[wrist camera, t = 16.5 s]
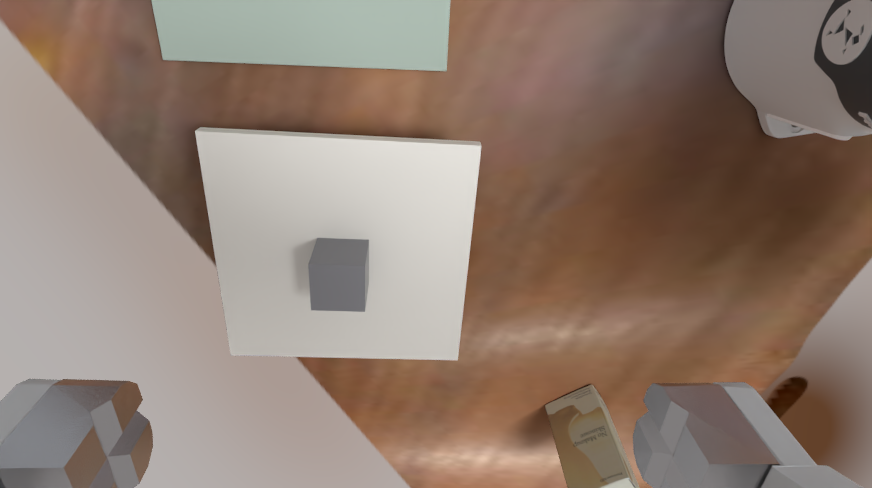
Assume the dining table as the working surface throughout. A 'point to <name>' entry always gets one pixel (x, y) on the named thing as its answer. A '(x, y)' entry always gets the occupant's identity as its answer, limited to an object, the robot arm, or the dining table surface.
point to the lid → (340, 241)
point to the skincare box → (588, 442)
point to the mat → (307, 32)
